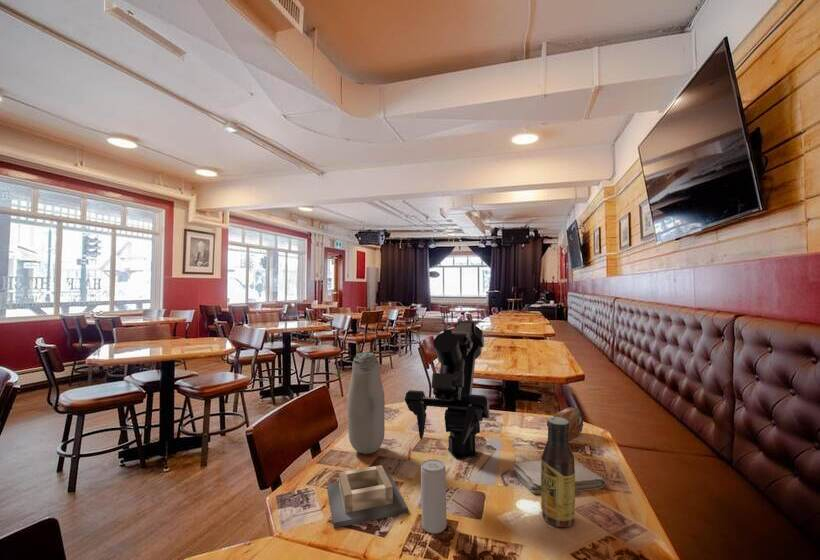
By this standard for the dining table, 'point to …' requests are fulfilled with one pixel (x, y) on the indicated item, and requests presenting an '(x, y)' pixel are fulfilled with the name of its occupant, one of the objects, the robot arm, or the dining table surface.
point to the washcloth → (532, 476)
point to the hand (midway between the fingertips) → (441, 440)
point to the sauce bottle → (558, 475)
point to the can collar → (364, 496)
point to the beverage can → (433, 496)
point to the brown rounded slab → (572, 421)
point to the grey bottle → (366, 404)
